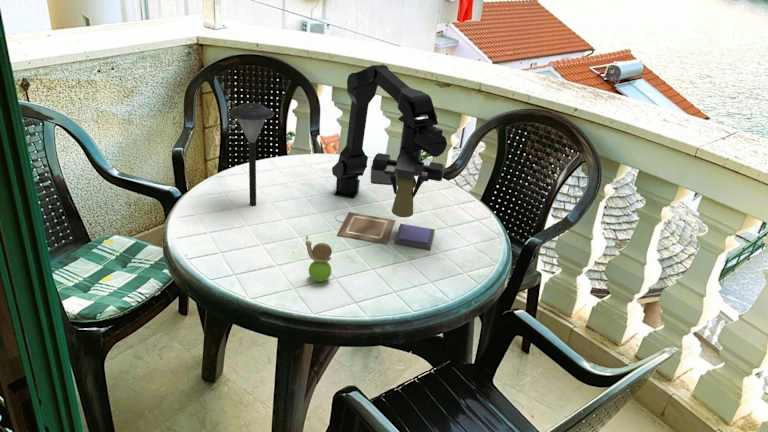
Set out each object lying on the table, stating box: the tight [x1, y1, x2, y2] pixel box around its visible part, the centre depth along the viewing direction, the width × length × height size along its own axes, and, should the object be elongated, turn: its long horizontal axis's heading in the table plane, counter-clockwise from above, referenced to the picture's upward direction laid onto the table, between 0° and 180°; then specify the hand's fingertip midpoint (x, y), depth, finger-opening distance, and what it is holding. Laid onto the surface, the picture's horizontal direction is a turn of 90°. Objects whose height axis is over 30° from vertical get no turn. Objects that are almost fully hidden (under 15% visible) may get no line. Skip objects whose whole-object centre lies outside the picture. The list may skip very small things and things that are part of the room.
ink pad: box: [393, 223, 436, 251], centre depth 161 cm, size 10×10×2 cm
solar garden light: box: [228, 102, 275, 207], centre depth 163 cm, size 12×12×30 cm
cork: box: [391, 176, 417, 218], centre depth 157 cm, size 6×6×11 cm
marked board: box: [336, 211, 396, 245], centre depth 164 cm, size 14×14×1 cm
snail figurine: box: [305, 235, 333, 283], centre depth 137 cm, size 5×6×12 cm
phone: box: [370, 165, 392, 186], centre depth 198 cm, size 7×1×15 cm
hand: (404, 195), depth 157 cm, fingers closed on cork, 5 cm apart
